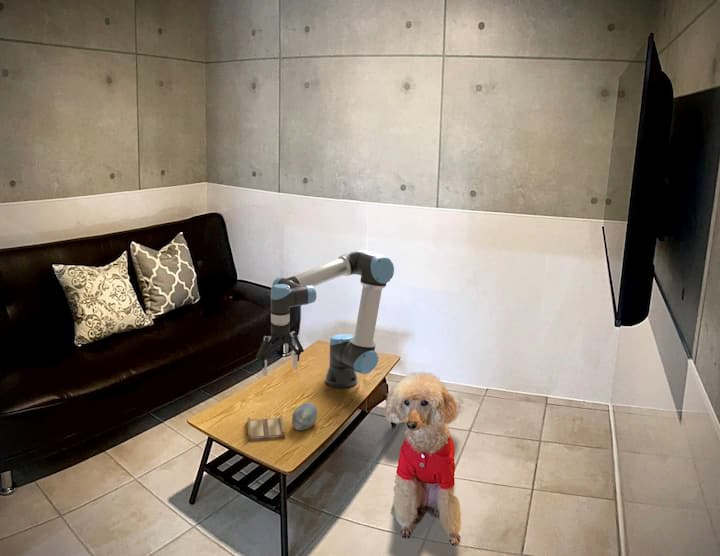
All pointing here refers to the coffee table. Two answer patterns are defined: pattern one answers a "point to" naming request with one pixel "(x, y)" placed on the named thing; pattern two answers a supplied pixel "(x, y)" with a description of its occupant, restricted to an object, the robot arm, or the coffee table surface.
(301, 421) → the grey streaked ellipsoid
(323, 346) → the coffee table surface
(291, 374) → the coffee table surface
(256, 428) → the shallow beige tray
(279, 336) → the robot arm
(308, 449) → the coffee table surface
